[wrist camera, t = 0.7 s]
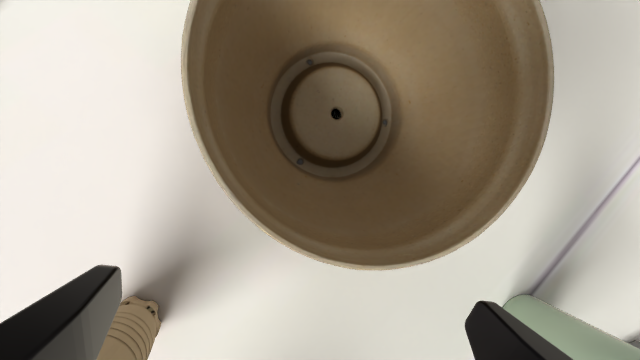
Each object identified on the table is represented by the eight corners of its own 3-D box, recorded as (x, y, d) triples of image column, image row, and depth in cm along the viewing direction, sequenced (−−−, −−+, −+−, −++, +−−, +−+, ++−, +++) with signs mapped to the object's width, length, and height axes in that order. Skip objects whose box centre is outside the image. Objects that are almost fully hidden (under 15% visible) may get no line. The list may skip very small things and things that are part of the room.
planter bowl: (371, -32, 23) (467, -193, 13) (459, 158, 26) (601, 157, 15) (172, 62, 21) (84, -39, 10) (288, 261, 23) (312, 345, 13)
